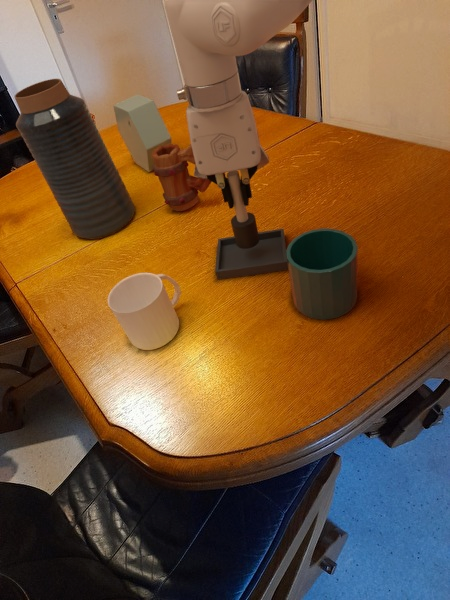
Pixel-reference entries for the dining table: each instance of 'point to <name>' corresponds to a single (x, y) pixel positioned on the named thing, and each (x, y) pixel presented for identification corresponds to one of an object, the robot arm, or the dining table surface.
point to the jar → (323, 273)
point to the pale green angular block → (141, 129)
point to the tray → (251, 256)
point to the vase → (73, 159)
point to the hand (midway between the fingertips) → (239, 202)
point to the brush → (242, 216)
